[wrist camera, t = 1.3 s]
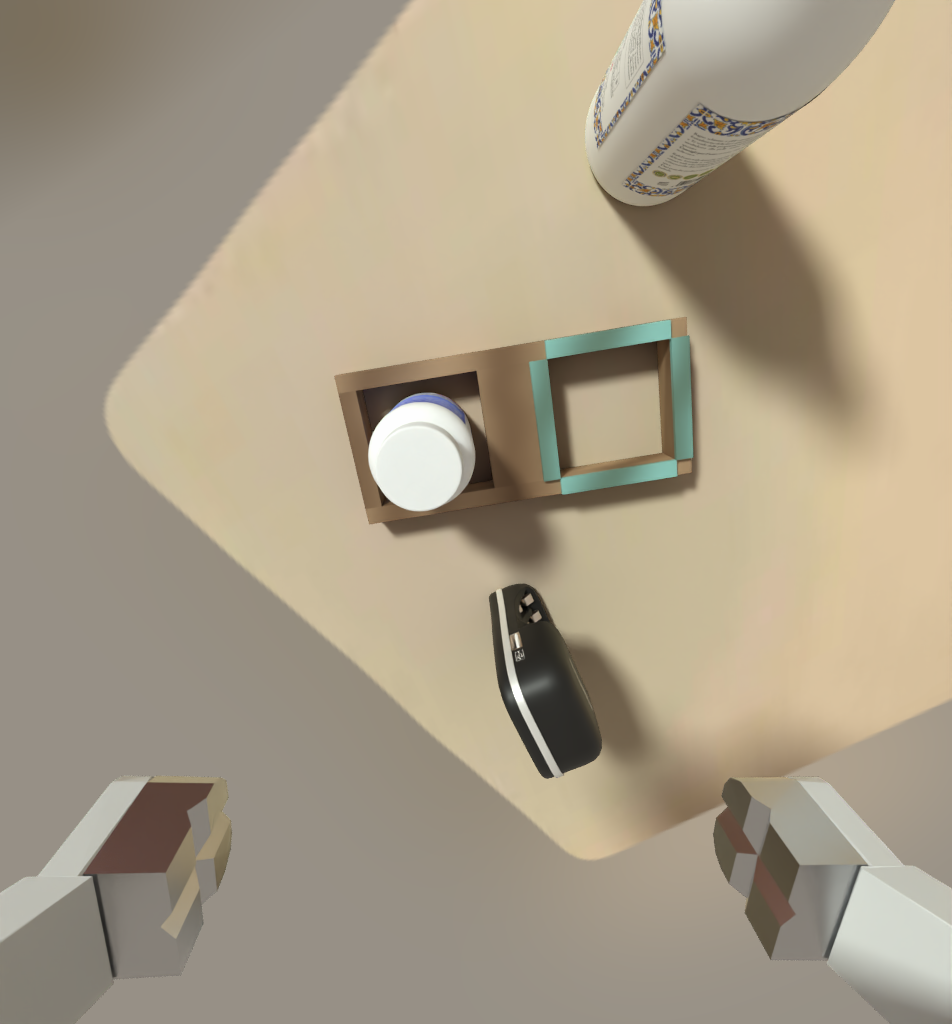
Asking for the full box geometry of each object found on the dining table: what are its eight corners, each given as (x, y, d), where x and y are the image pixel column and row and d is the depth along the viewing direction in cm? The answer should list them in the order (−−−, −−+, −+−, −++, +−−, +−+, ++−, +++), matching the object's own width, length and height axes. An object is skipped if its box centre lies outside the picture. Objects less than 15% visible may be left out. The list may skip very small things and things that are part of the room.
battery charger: (573, 649, 37) (619, 772, 26) (524, 668, 38) (550, 798, 27) (536, 568, 35) (570, 665, 24) (485, 589, 36) (496, 695, 25)
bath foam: (734, 147, 28) (1311, -282, 9) (630, 237, 29) (944, 26, 10) (664, 25, 26) (1193, -822, 7) (556, 125, 28) (770, -377, 9)
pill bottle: (370, 414, 32) (332, 441, 23) (448, 376, 31) (443, 386, 22) (411, 491, 33) (391, 545, 24) (486, 455, 33) (496, 497, 24)
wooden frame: (672, 318, 31) (688, 316, 28) (678, 465, 33) (693, 473, 31) (342, 374, 31) (333, 376, 29) (374, 514, 34) (368, 525, 32)
